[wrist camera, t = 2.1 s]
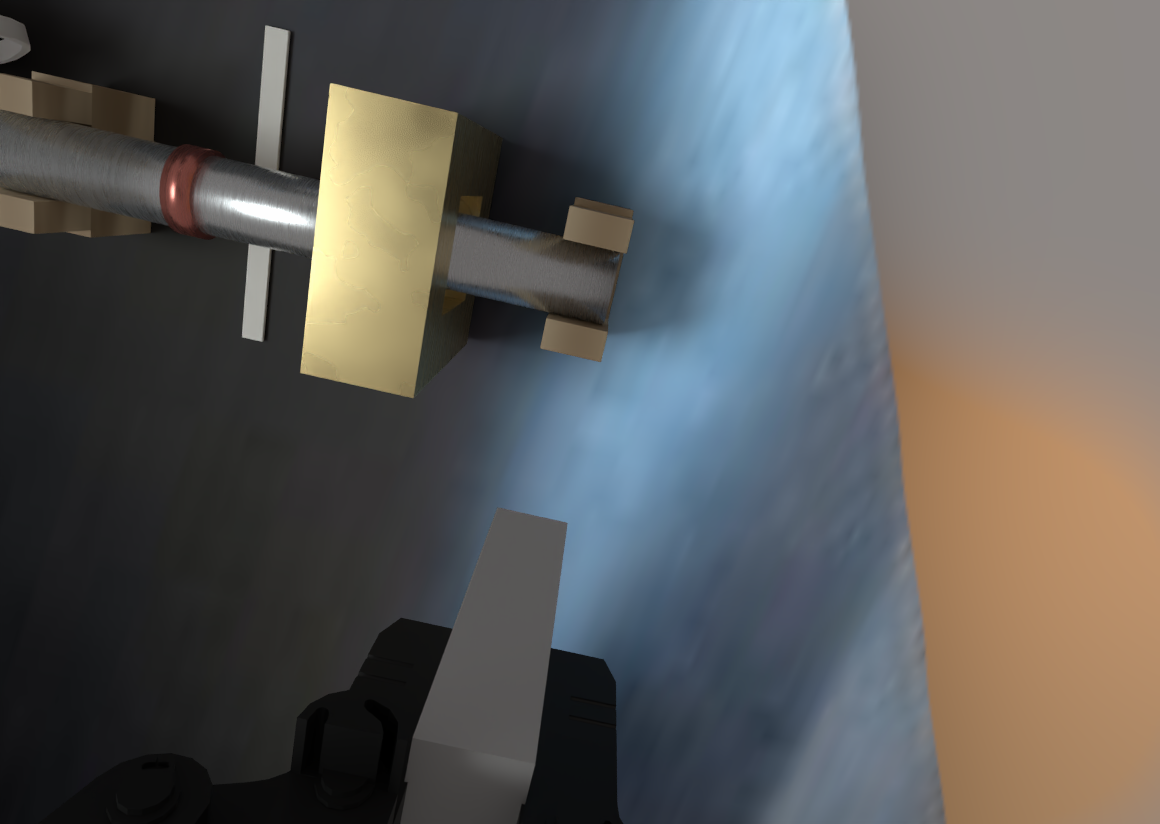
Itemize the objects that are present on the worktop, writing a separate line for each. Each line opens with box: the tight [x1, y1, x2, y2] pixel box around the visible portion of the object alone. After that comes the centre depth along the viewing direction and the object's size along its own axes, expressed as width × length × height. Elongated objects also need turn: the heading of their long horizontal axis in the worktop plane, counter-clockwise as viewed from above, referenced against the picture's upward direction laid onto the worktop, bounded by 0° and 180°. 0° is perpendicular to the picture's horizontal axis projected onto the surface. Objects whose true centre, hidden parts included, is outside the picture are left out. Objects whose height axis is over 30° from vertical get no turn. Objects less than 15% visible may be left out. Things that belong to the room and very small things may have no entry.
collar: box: [300, 83, 503, 398], centre depth 27 cm, size 4×9×9 cm, turn 168°
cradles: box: [0, 71, 634, 362], centre depth 29 cm, size 24×6×7 cm, turn 78°
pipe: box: [0, 109, 620, 325], centre depth 27 cm, size 24×3×3 cm, turn 78°
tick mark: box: [242, 26, 290, 341], centre depth 32 cm, size 1×14×1 cm, turn 167°
